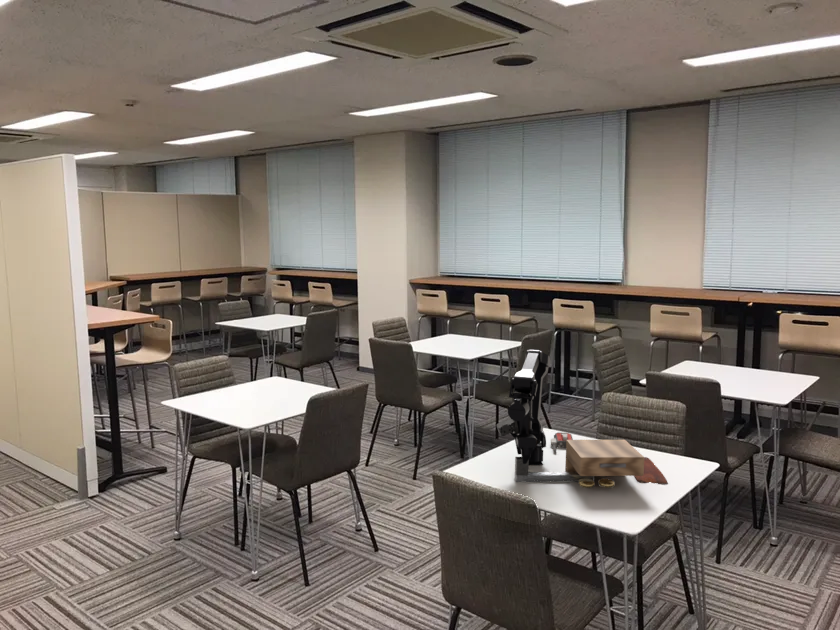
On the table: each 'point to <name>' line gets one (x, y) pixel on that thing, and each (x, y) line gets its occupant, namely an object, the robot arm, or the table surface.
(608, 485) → the brass disc
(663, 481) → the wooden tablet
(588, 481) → the brass disc
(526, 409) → the robot arm
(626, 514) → the table surface
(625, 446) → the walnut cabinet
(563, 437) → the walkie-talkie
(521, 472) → the gray l-shaped bracket
